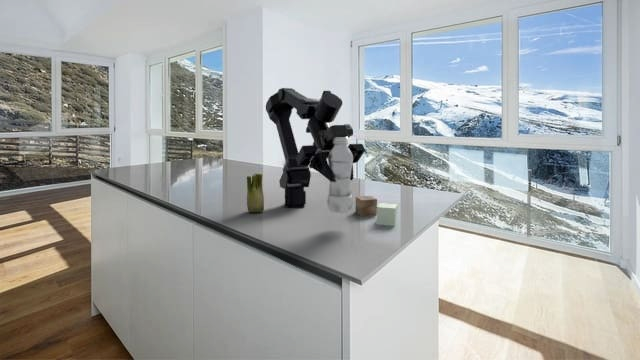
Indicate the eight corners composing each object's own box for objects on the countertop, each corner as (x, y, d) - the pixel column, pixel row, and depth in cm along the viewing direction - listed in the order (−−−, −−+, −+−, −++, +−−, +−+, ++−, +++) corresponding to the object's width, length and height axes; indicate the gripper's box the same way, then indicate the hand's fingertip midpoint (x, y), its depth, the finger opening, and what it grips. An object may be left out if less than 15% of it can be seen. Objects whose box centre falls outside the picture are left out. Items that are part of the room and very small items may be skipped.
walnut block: (361, 216, 109) (361, 200, 109) (355, 212, 114) (355, 196, 113) (376, 215, 111) (377, 199, 110) (370, 211, 115) (370, 195, 115)
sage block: (376, 224, 101) (376, 207, 100) (378, 219, 106) (379, 203, 105) (394, 226, 100) (395, 208, 99) (396, 221, 105) (397, 204, 104)
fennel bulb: (248, 214, 110) (247, 175, 108) (244, 211, 114) (243, 173, 112) (266, 213, 112) (266, 174, 110) (262, 209, 117) (261, 172, 114)
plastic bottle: (335, 207, 101) (335, 135, 97) (356, 211, 97) (358, 136, 93) (322, 213, 96) (322, 136, 92) (344, 217, 92) (345, 138, 88)
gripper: (301, 113, 91) (321, 162, 83) (362, 114, 100) (386, 158, 92) (288, 142, 99) (306, 190, 91) (346, 140, 108) (367, 184, 100)
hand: (342, 180), depth 94 cm, fingers closed on plastic bottle, 5 cm apart
